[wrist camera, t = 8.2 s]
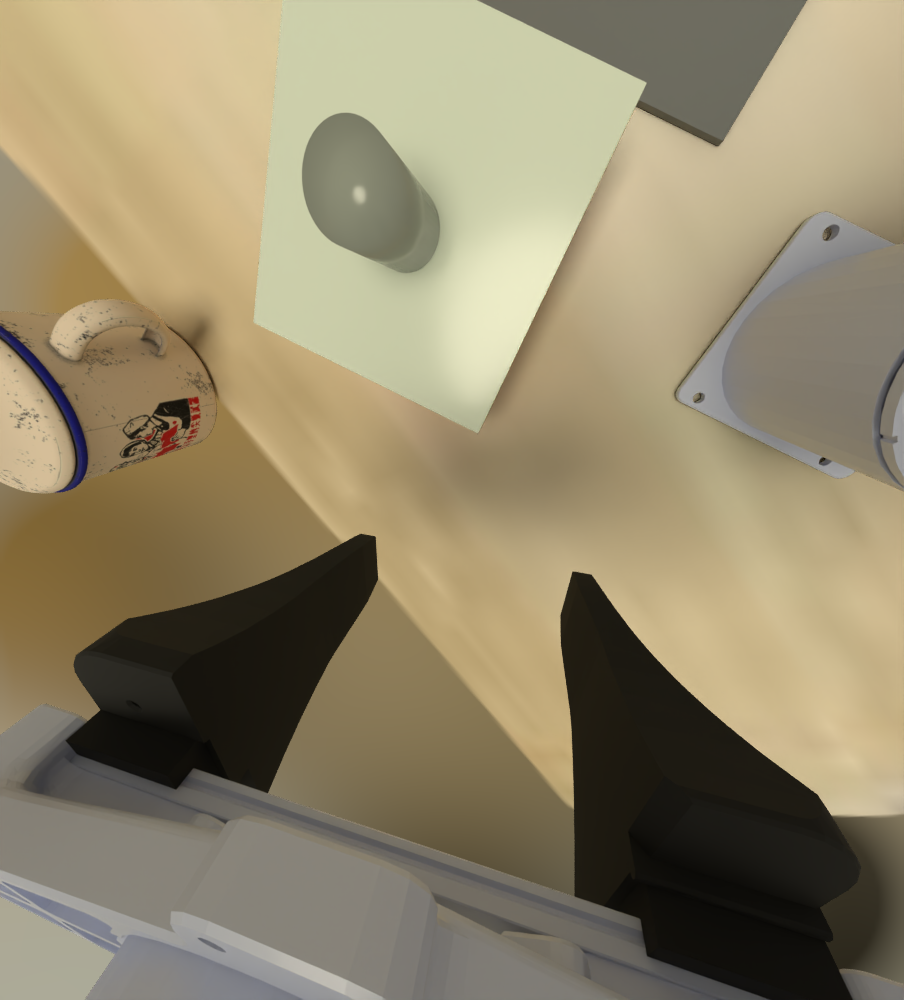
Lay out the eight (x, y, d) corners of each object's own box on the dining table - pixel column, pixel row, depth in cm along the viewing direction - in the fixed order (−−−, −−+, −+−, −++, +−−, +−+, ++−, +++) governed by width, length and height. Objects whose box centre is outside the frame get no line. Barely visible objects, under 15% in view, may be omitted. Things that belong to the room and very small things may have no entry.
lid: (639, 98, 11) (717, -78, 6) (480, 429, 17) (458, 466, 12) (306, -63, 11) (134, -359, 6) (265, 322, 17) (161, 319, 12)
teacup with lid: (187, 468, 27) (-24, 549, 17) (92, 370, 25) (-217, 395, 15) (268, 376, 22) (36, 412, 12) (158, 243, 20) (-247, 144, 9)
